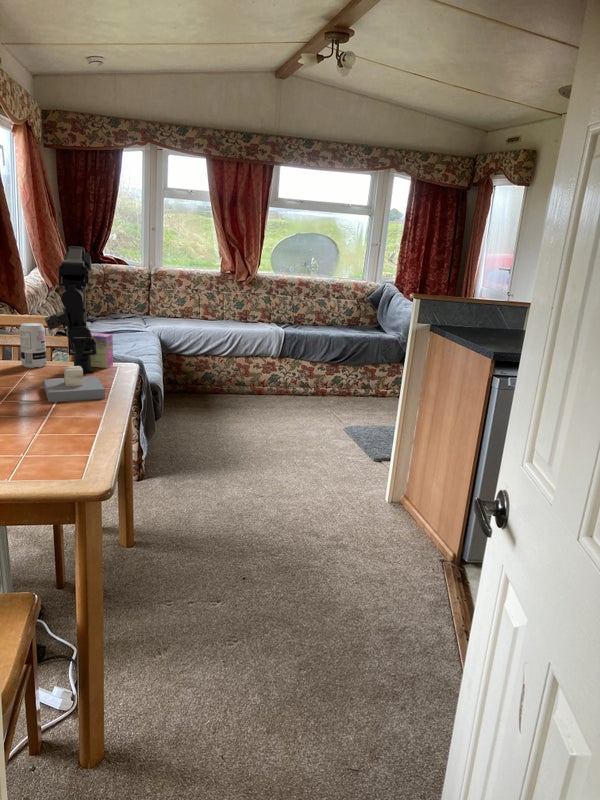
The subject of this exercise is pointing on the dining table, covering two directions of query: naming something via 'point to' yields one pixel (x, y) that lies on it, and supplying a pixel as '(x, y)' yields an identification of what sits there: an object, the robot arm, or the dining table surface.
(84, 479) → the dining table surface
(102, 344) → the box
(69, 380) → the cube
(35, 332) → the supplement can
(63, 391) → the base board
